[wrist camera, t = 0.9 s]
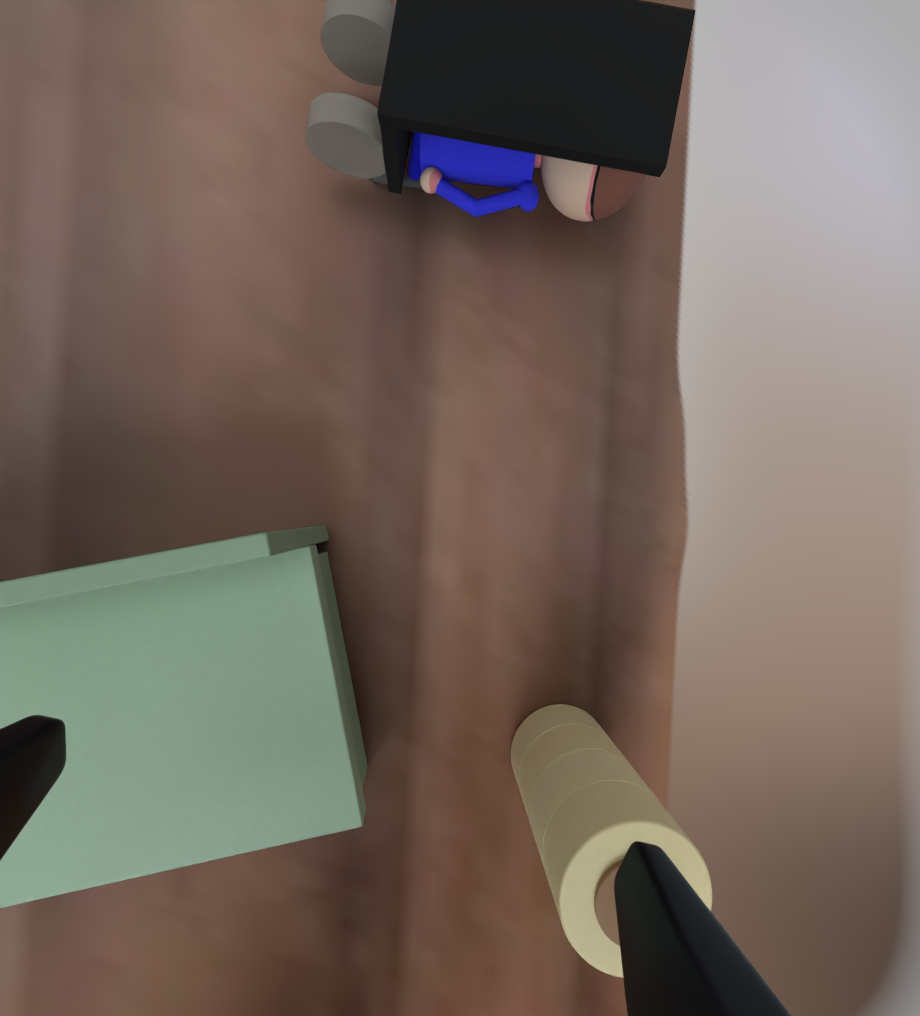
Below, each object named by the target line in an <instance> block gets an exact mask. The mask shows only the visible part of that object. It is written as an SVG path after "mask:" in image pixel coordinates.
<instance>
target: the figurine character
mask: <svg viewBox="0 0 920 1016" xmlns="http://www.w3.org/2000/svg"><path fill="white" fill-rule="evenodd" d="M694 15H695V10H691V9H686V8H681V7H675V6H670V5H664V4H659V3H654V2H648V1H643V0H397V3H396V6H395V5H394V4H393V3H392V2H391V1H390V0H327V2H326V6H325V12H324V18H323V24H322V30H321V43H322V46H323V49H324V51H325V53H326V55H327V56H328V58H329V59H330V61H331V62H332V63H333V64H334V65H335V66H336V67H337V68H338V69H339V70H340V71H341V72H343V73H344V74H345V75H347V76H349V77H350V78H352V79H354V80H356V81H358V82H361V83H364V84H368V85H373V86H382V89H381V94H380V100H379V106H378V109H377V108H376V107H375V106H373V105H372V104H370V103H368V102H367V101H365V100H363V99H360V98H358V97H355V96H353V95H349V94H345V93H338V92H330V93H324V94H321V95H319V96H317V97H316V98H315V99H314V100H313V101H312V103H311V105H310V111H309V116H308V122H307V128H306V134H305V140H306V143H307V146H308V148H309V149H310V151H311V152H312V153H313V154H314V155H315V156H316V157H317V158H318V159H319V160H320V161H321V162H323V163H324V164H325V165H327V166H329V167H330V168H332V169H334V170H336V171H338V172H340V173H343V174H346V175H349V176H353V177H357V178H370V179H372V180H373V181H374V182H375V183H379V184H387V185H388V191H389V192H394V193H398V194H401V190H402V186H403V187H412V188H422V189H423V190H424V191H425V192H426V193H429V194H433V193H436V194H438V195H439V196H441V197H443V198H444V199H446V200H448V201H449V202H451V203H452V204H454V205H456V206H457V207H459V208H461V209H462V210H464V211H466V212H467V213H469V214H471V215H472V216H474V217H479V216H483V215H486V214H490V213H494V212H498V211H501V210H505V209H509V208H513V207H516V206H520V208H521V209H523V210H524V211H532V210H534V209H535V208H536V206H537V204H538V201H539V191H538V188H537V186H536V185H535V183H534V182H532V179H533V173H534V168H540V164H541V174H542V181H543V185H544V188H545V191H546V194H547V196H548V198H549V200H550V201H551V203H552V204H553V205H554V207H555V208H556V209H557V210H558V211H559V212H561V213H562V214H563V215H565V216H566V217H569V218H571V219H573V220H577V221H582V222H591V221H597V220H601V219H604V218H607V217H609V216H611V215H612V214H614V213H616V212H617V211H619V210H620V209H621V208H622V207H623V206H624V205H625V204H627V202H628V201H629V200H630V199H631V198H632V197H633V195H634V194H635V192H636V191H637V189H638V188H639V186H640V184H641V182H642V180H643V178H644V175H645V174H646V175H652V176H657V177H660V176H661V174H662V173H663V171H664V169H665V168H666V164H667V159H668V154H669V148H670V143H671V138H672V132H673V127H674V122H675V116H676V111H677V106H678V100H679V95H680V90H681V84H682V79H683V74H684V68H685V63H686V58H687V52H688V47H689V42H690V36H691V31H692V26H693V20H694ZM411 134H413V138H412V145H411V153H410V161H409V170H408V172H409V173H405V168H406V162H407V156H408V151H409V145H410V139H411ZM541 158H542V159H541ZM448 181H453V182H462V183H470V184H479V185H487V186H495V187H504V188H512V189H514V190H511V191H507V192H503V193H499V194H496V195H492V196H488V197H485V198H481V199H476V198H474V197H473V196H471V195H469V194H468V193H466V192H464V191H463V190H461V189H459V188H458V187H456V186H454V185H453V184H451V183H449V182H448Z"/></svg>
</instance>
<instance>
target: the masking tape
mask: <svg viewBox="0 0 920 1016" xmlns="http://www.w3.org/2000/svg"><path fill="white" fill-rule="evenodd" d="M511 764H512V768H513V771H514V775H515V778H516V781H517V784H518V787H519V790H520V794H521V797H522V800H523V803H524V806H525V809H526V813H527V816H528V819H529V822H530V825H531V828H532V831H533V835H534V838H535V841H536V844H537V847H538V850H539V854H540V857H541V860H542V863H543V866H544V869H545V873H546V876H547V879H548V882H549V885H550V888H551V892H552V895H553V898H554V901H555V904H556V907H557V911H558V914H559V917H560V920H561V923H562V926H563V929H564V932H565V934H566V936H567V938H568V940H569V941H570V943H571V945H572V946H573V948H574V949H575V950H576V951H577V953H578V954H579V955H580V956H581V957H582V958H583V959H584V960H586V961H587V962H588V963H589V964H591V965H592V966H593V967H595V968H597V969H599V970H600V971H602V972H604V973H607V974H610V975H613V976H617V977H623V969H622V960H621V951H620V941H619V932H618V923H617V913H616V904H615V895H614V880H615V875H616V872H617V870H618V868H619V866H620V864H621V862H622V861H623V859H624V857H625V855H626V853H627V851H628V849H629V847H630V845H631V844H632V843H633V842H635V841H640V842H645V843H649V844H654V845H657V846H659V847H660V848H661V849H662V850H663V851H664V852H665V853H666V854H667V855H668V857H669V858H670V859H671V861H672V862H673V863H674V865H675V866H676V867H677V868H678V870H679V871H680V872H681V874H682V875H683V876H684V877H685V879H686V880H687V881H688V883H689V884H690V885H691V887H692V888H693V889H694V890H695V892H696V893H697V894H698V896H699V897H700V898H701V900H702V901H703V902H704V903H705V905H706V906H707V907H708V909H709V910H710V911H711V906H712V886H711V880H710V876H709V872H708V869H707V866H706V864H705V862H704V859H703V857H702V856H701V854H700V853H699V851H698V849H697V848H696V847H695V846H694V844H693V843H692V842H691V841H690V839H689V838H688V837H687V835H686V834H685V833H684V832H683V830H682V829H681V828H680V827H679V826H678V824H677V823H676V822H675V820H674V819H673V818H672V817H671V815H670V814H669V813H668V811H667V810H666V809H665V808H664V806H663V805H662V804H661V803H660V801H659V800H658V799H657V797H656V796H655V795H654V794H653V792H652V791H651V790H650V789H649V787H648V786H647V785H646V784H645V782H644V781H643V780H642V778H641V777H640V776H639V775H638V773H637V772H636V771H635V770H634V768H633V767H632V766H631V765H630V763H629V762H628V761H627V759H626V758H625V757H624V756H623V754H622V753H621V752H620V751H619V749H618V748H617V747H616V746H615V744H614V743H613V742H612V740H611V739H610V738H609V737H608V735H607V734H606V733H605V732H604V730H603V729H602V728H601V726H600V725H599V724H598V723H597V721H596V720H595V719H594V718H593V717H592V716H591V715H590V714H588V713H587V712H585V711H584V710H582V709H580V708H577V707H575V706H571V705H564V704H555V705H549V706H546V707H543V708H541V709H538V710H536V711H535V712H533V713H532V714H530V715H529V716H528V717H527V718H526V719H525V720H524V721H523V722H522V723H521V725H520V726H519V728H518V729H517V731H516V733H515V736H514V738H513V741H512V746H511Z"/></svg>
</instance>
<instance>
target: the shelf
mask: <svg viewBox="0 0 920 1016" xmlns="http://www.w3.org/2000/svg"><path fill="white" fill-rule="evenodd" d="M328 540H329V537H328V532H327V527H326V525H320V526H312V527H303V528H295V529H287V530H278V531H270V532H263V533H257V534H252V535H247V536H241V537H236V538H231V539H225V540H220V541H214V542H209V543H204V544H198V545H193V546H188V547H182V548H177V549H172V550H166V551H161V552H156V553H150V554H145V555H140V556H134V557H129V558H124V559H118V560H113V561H108V562H102V563H97V564H92V565H86V566H81V567H76V568H70V569H65V570H60V571H54V572H49V573H44V574H38V575H33V576H28V577H22V578H17V579H12V580H6V581H1V582H0V729H1V728H4V727H6V726H8V725H10V724H13V723H15V722H17V721H19V720H21V719H24V718H26V717H29V716H32V715H43V716H47V717H52V718H57V719H60V720H62V721H63V722H64V724H65V729H66V763H65V766H64V769H63V771H62V773H61V775H60V777H59V778H58V780H57V781H56V782H55V784H54V785H53V787H52V788H51V790H50V791H49V792H48V794H47V795H46V797H45V798H44V799H43V801H42V802H41V804H40V805H39V807H38V808H37V809H36V811H35V812H34V814H33V815H32V817H31V818H30V819H29V821H28V822H27V824H26V825H25V826H24V828H23V829H22V831H21V832H20V834H19V835H18V836H17V838H16V839H15V841H14V842H13V843H12V845H11V846H10V848H9V849H8V851H7V852H6V853H5V855H4V856H3V858H2V859H1V861H0V908H2V907H7V906H11V905H15V904H20V903H24V902H29V901H33V900H38V899H42V898H47V897H51V896H56V895H60V894H64V893H69V892H73V891H78V890H82V889H87V888H91V887H96V886H100V885H104V884H109V883H113V882H118V881H122V880H127V879H131V878H136V877H140V876H145V875H149V874H153V873H158V872H162V871H167V870H171V869H176V868H180V867H185V866H189V865H194V864H198V863H202V862H207V861H211V860H216V859H220V858H225V857H229V856H234V855H238V854H242V853H247V852H251V851H256V850H260V849H265V848H269V847H274V846H278V845H283V844H287V843H291V842H296V841H300V840H305V839H309V838H314V837H318V836H323V835H327V834H331V833H336V832H340V831H345V830H349V829H354V828H358V827H362V826H363V822H364V818H365V813H366V805H365V800H364V795H363V785H364V781H365V777H366V773H367V769H368V764H367V759H366V754H365V749H364V743H363V738H362V733H361V727H360V722H359V717H358V712H357V706H356V701H355V696H354V691H353V685H352V680H351V675H350V669H349V664H348V659H347V654H346V648H345V643H344V638H343V632H342V627H341V622H340V617H339V611H338V606H337V601H336V596H335V590H334V585H333V580H332V574H331V569H330V564H329V559H328V553H327V551H325V552H320V553H318V552H317V547H316V545H315V544H318V543H321V542H325V541H328Z"/></svg>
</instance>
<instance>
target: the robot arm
mask: <svg viewBox="0 0 920 1016" xmlns="http://www.w3.org/2000/svg"><path fill="white" fill-rule="evenodd" d="M65 763H66V729H65V724H64V722H63V721H62V720H60V719H57V718H52V717H47V716H43V715H32V716H29V717H26V718H24V719H21V720H19V721H17V722H15V723H13V724H10V725H8V726H6V727H4V728H1V729H0V861H1V859H2V858H3V856H4V855H5V853H6V852H7V851H8V849H9V848H10V846H11V845H12V843H13V842H14V841H15V839H16V838H17V836H18V835H19V834H20V832H21V831H22V829H23V828H24V826H25V825H26V824H27V822H28V821H29V819H30V818H31V817H32V815H33V814H34V812H35V811H36V809H37V808H38V807H39V805H40V804H41V802H42V801H43V799H44V798H45V797H46V795H47V794H48V792H49V791H50V790H51V788H52V787H53V785H54V784H55V782H56V781H57V780H58V778H59V777H60V775H61V773H62V771H63V769H64V766H65ZM614 895H615V904H616V913H617V923H618V932H619V941H620V951H621V960H622V969H623V979H624V988H625V996H626V1004H627V1012H628V1016H791V1015H790V1014H789V1012H788V1011H787V1010H786V1008H785V1007H784V1006H783V1005H782V1004H781V1002H780V1001H779V999H778V998H777V997H776V995H774V993H773V992H772V991H771V989H770V988H769V986H768V985H767V984H766V983H765V981H764V980H763V979H762V977H761V976H760V975H759V973H758V972H757V971H756V970H755V968H754V967H753V966H752V964H751V963H750V962H749V960H748V959H747V958H746V957H745V955H744V954H743V953H742V951H741V950H740V949H739V948H738V946H737V945H736V944H735V942H734V941H733V940H732V939H731V937H730V936H729V935H728V933H727V932H726V931H725V930H724V928H723V927H722V925H721V924H720V923H719V922H718V920H717V919H716V918H715V916H714V915H713V914H712V913H711V911H710V910H709V909H708V907H707V906H706V905H705V903H704V902H703V901H702V900H701V898H700V897H699V896H698V894H697V893H696V892H695V890H694V889H693V888H692V887H691V885H690V884H689V883H688V881H687V880H686V879H685V877H684V876H683V875H682V874H681V872H680V871H679V870H678V868H677V867H676V866H675V865H674V863H673V862H672V861H671V859H670V858H669V857H668V855H667V854H666V853H665V852H664V851H663V850H662V849H661V848H660V847H659V846H657V845H654V844H649V843H645V842H640V841H635V842H633V843H632V844H631V845H630V847H629V849H628V851H627V853H626V855H625V857H624V859H623V861H622V862H621V864H620V866H619V868H618V870H617V872H616V875H615V880H614Z"/></svg>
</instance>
